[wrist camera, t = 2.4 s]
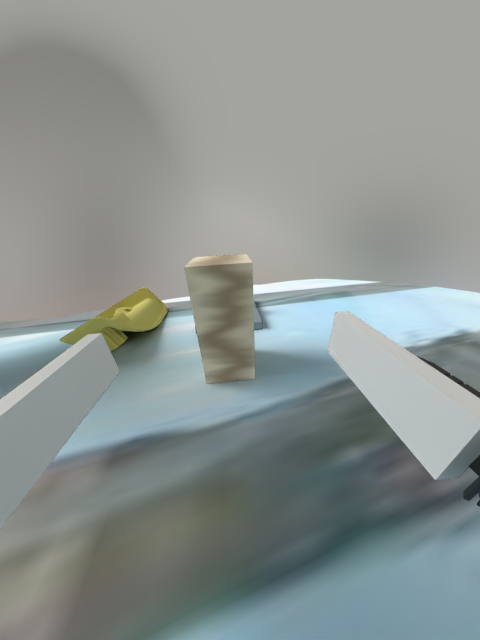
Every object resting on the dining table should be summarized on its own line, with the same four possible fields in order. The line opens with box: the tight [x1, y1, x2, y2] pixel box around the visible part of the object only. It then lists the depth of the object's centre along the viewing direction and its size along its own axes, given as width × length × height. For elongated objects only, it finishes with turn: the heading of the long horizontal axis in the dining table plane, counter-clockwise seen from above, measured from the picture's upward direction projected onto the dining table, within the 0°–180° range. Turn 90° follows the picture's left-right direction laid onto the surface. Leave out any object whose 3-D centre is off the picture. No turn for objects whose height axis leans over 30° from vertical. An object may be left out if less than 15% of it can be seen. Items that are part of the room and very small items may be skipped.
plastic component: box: [59, 288, 168, 351], centre depth 34 cm, size 20×7×10 cm
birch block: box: [184, 254, 255, 384], centre depth 22 cm, size 6×6×14 cm
